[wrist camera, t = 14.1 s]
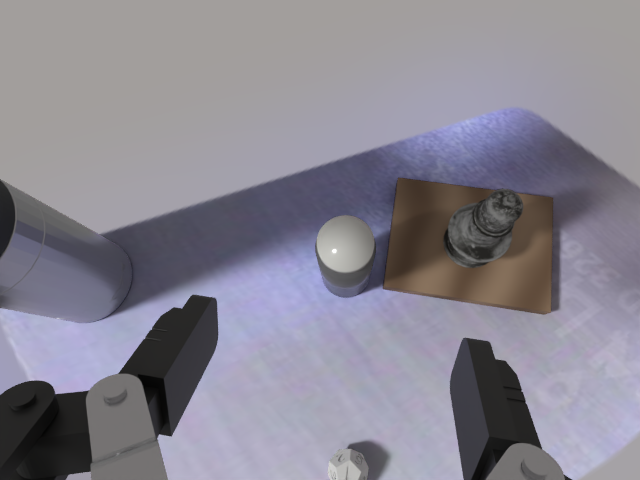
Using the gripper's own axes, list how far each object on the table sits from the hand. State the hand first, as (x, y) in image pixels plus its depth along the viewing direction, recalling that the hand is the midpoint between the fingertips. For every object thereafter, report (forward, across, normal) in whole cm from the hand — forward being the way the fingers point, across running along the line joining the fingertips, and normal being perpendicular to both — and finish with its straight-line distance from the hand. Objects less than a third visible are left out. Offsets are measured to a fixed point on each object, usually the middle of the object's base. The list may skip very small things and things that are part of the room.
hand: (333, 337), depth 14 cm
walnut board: (+31, -12, +12) cm, 35 cm away
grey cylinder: (+27, 0, +15) cm, 31 cm away
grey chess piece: (+30, -12, +11) cm, 34 cm away
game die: (+14, -2, +28) cm, 32 cm away
